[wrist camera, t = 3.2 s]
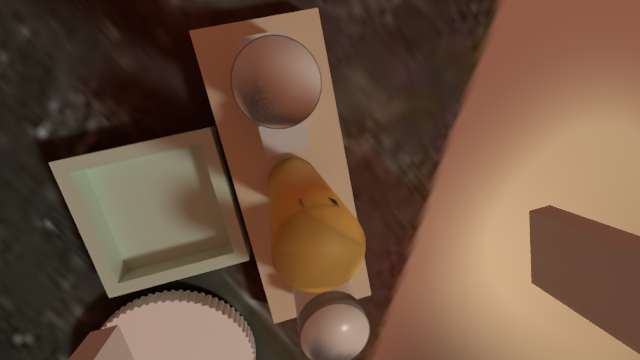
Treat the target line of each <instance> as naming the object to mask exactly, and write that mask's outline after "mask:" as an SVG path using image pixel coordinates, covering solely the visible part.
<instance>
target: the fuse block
mask: <svg viewBox="0 0 640 360" xmlns="http://www.w3.org/2000/svg"><path fill="white" fill-rule="evenodd" d="M189 32H190V36H191V39H192V43H193V46H194V50H195V53H196V56H197V60H198V63H199V67H200V70H201V74H202V77H203V81H204V84H205V87H206V91H207V94H208V98H209V101H210V105H211V108H212V111H213V115H214V118H215V122H216V125H217V129H218V132H219V135H220V139H221V142H222V146H223V149H224V153H225V156H226V159H227V163H228V166H229V170H230V173H231V177H232V180H233V184H234V187H235V190H236V194H237V197H238V201H239V204H240V208H241V211H242V214H243V218H244V221H245V225H246V228H247V232H248V235H249V238H250V242H251V245H252V249H253V252H254V256H255V259H256V262H257V266H258V269H259V273H260V276H261V280H262V283H263V287H264V290H265V293H266V297H267V300H268V304H269V307H270V311H271V314H272V317H273V321H274V324H275V323H278V322H282V321H285V320H288V319H292V318H295V317H297V321H298V333H299V339H300V345H301V348H302V351H303V352H304V354H305V355H306V356H307V357H308V358H309V359H310V360H351V359H352V358H354V357H355V356H356V355H358V354H359V353H360V352H361V351H362V349H363V348H364V347H365V345H366V343H367V341H368V338H369V334H370V325H369V321H368V319H367V317H366V315H365V313H364V311H363V308H362V306H361V304H360V303H359V301H358V300H357V299H359V298H362V297H366V296H369V295H371V291H370V285H369V280H368V275H367V269H366V264H365V258H363V261H362V263H361V265H360V267H359V269H358V270H357V272H356V273H355V274H354V275H353V276H352V277H351V278H350V279H349V280H348V281H347V282H346V283H344V284H343V285H341V286H339V287H337V288H335V289H332V290H329V291H325V292H318V293H311V292H304V291H300V290H298V289H295V288H293V287H291V286H290V285H288V284H287V283H286V282H285V281H284V280H283V279H282V278H281V277H280V276H279V275H278V273H277V271H276V269H275V267H274V264H273V261H272V251H271V230H270V209H269V188H268V179H269V175H270V172H271V171H272V169H273V168H274V166H275V165H276V164H277V163H279V162H280V161H282V160H284V159H287V158H301V159H304V160H306V161H308V162H309V163H310V164H311V165H312V166H313V167H314V168H315V169H316V171H317V172H318V173H319V174H320V175H321V177H322V178H323V179H324V180H325V181H326V183H327V184H328V185H329V186H330V188H331V189H332V190H333V191H334V192H335V194H336V195H337V196H338V197H339V199H340V200H341V201H342V202H343V203H344V205H345V206H346V207H347V208H348V210H349V211H350V212H351V213H352V214H353V216H354V217H355V218H356V219H357V215H356V210H355V205H354V199H353V194H352V189H351V183H350V178H349V172H348V167H347V162H346V156H345V151H344V146H343V140H342V135H341V129H340V124H339V119H338V113H337V108H336V103H335V97H334V92H333V86H332V81H331V76H330V70H329V65H328V60H327V54H326V49H325V43H324V38H323V33H322V27H321V22H320V17H319V11H318V8H314V9H308V10H302V11H297V12H291V13H285V14H280V15H274V16H269V17H263V18H257V19H252V20H246V21H240V22H235V23H229V24H224V25H218V26H212V27H207V28H201V29H195V30H190V31H189Z"/></svg>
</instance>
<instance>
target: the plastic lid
mask: <svg viewBox="0 0 640 360" xmlns="http://www.w3.org/2000/svg"><path fill="white" fill-rule="evenodd" d="M229 306H230V305H229V304H228V303H227V304H225V303H224V301H223V300H221V301H219V300H218V298H217V297H215V298H212V297H211V295H208V296H207V295H205V293H201V294H199V293H198V292H197V291H194V292H190V290H187V291H186V292H184V291H183V290H179V291H175V290H171V292H168V291H167V290H166V291H163V293H160V292H156V293H155V294H154V295H153V294H148V296H147V297H145V296H142V297H141V298H140V299H139V300H138V299H135V300H134V301H133V302H132V303H131V302H129V303H127V305H126V306H122V307H121V308H120V310H119V311H118V310H117V311H116V312H115V313H114V314H113V315H111V316H110V318H109V319H108V320H107V321H106V322H105V323H104V325H103V326H102V327H101V329H104V328H107V327H111V326H115V325H119V327H120V329H121V332H122V334H123V336H124V338H125V340H126V343H127V345H128V347H129V349H130V352H131V354H132V356H133V358H134V360H255V356H256V353H255V352H256V347H255V342H254V336H252V331H250V327H249V326H247V322H246V321H244V320H243V316H240V315H239V312H238V311H237V312H235V308H233V307H232V308H231V307H229Z"/></svg>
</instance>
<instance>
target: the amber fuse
mask: <svg viewBox="0 0 640 360" xmlns="http://www.w3.org/2000/svg"><path fill="white" fill-rule="evenodd" d="M268 188H269V209H270V230H271V251H272V261H273V264H274V267H275V269H276V271H277V273H278V275H279V276H280V277H281V278H282V279H283V280H284V281H285V282H286V283H287V284H288V285H290V286H291V287H293V288H295V289H298V290H300V291H304V292H311V293H318V292H325V291H329V290H332V289H335V288H337V287H339V286H341V285H343V284H344V283H346V282H347V281H348V280H349V279H350V278H351V277H352V276H353V275H354V274H355V273H356V272H357V270H358V269H359V267H360V265H361V263H362V261H363V258H364V255H365V250H366V240H365V235H364V231H363V229H362V227H361V225H360V223H359V222H358V221H357V219H356V218H355V217H354V216H353V214H352V213H351V212H350V211H349V210H348V208H347V207H346V206H345V205H344V203H343V202H342V201H341V200H340V199H339V197H338V196H337V195H336V194H335V192H334V191H333V190H332V189H331V188H330V186H329V185H328V184H327V183H326V181H325V180H324V179H323V178H322V177H321V175H320V174H319V173H318V172H317V171H316V169H315V168H314V167H313V166H312V165H311V164H310V163H309V162H308V161H306V160H304V159H301V158H287V159H284V160H282V161H280V162H279V163H277V164H276V165H275V166H274V168H273V169H272V171H271V172H270V175H269V179H268Z"/></svg>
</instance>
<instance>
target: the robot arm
mask: <svg viewBox="0 0 640 360" xmlns="http://www.w3.org/2000/svg"><path fill="white" fill-rule="evenodd" d="M529 214H530V244H531V278H532V283H533V284H534V285H536V286H537V287H539V288H541V289H542V290H544V291H545V292H546V293H548V294H549V295H551V296H553V297H554V298H556V299H557V300H559V301H560V302H562V303H563V304H565V305H566V306H568V307H569V308H571V309H572V310H574V311H575V312H577V313H578V314H580V315H581V316H583V317H584V318H586V319H587V320H589V321H590V322H592V323H593V324H595V325H596V326H598V327H600V328H601V329H603V330H604V331H605V332H607V333H609V334H610V335H612V336H613V337H615V338H616V339H618V340H619V341H621V342H622V343H624V344H625V345H627V346H628V347H630V348H631V349H633V350H634V351H636V352H637V353H639V354H640V236H638V235H634V234H632V233H629V232H626V231H623V230H620V229H617V228H614V227H611V226H609V225H605V224H603V223H600V222H597V221H594V220H591V219H588V218H585V217H582V216H579V215H576V214H573V213H571V212H568V211H565V210H562V209H559V208H556V207H553V206H550V205H549V206H546V207H542V208H538V209H535V210H532V211H529ZM68 360H134V358H133V356H132V354H131V352H130V349H129V347H128V345H127V343H126V340H125V338H124V336H123V334H122V332H121V329H120V327H119V325H115V326H111V327H107V328H104V329H100V330H96V331H93V332H90V333H89V334H88V336H87V337H86V338H85V339H84V341H83V342H82V343H81V344H80V346H79V347H78V348H77V349H76V351H75V352H74V353H73V354H72V356H71V357H70V358H69V359H68Z"/></svg>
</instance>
